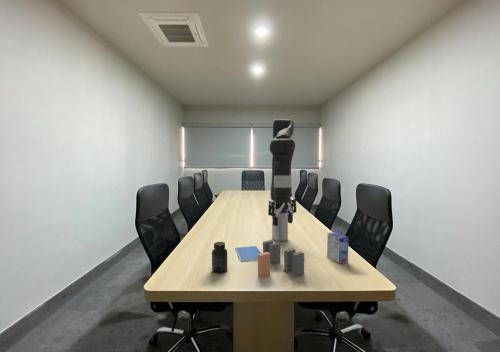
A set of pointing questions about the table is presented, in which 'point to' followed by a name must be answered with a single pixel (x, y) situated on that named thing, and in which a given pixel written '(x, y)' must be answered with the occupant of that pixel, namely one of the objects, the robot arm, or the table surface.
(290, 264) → the domino
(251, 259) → the blue flat board
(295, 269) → the domino
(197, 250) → the table surface
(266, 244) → the domino
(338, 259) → the ink cartridge box
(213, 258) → the supplement bottle
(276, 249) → the domino
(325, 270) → the table surface
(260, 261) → the domino
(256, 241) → the table surface
